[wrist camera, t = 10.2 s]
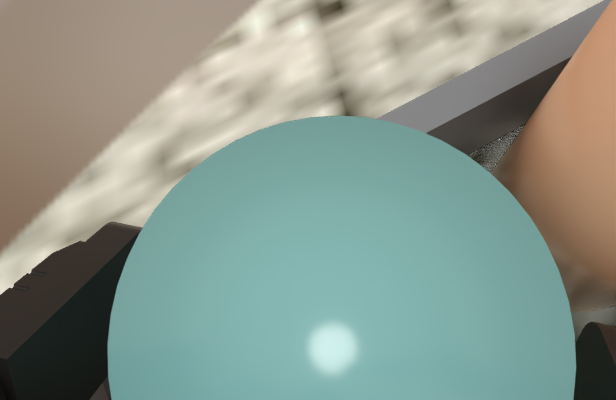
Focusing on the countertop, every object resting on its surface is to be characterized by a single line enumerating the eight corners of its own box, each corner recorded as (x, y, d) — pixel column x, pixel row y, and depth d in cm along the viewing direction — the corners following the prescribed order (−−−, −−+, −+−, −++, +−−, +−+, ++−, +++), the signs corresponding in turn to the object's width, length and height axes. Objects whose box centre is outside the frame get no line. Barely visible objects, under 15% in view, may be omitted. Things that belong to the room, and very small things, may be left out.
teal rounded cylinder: (381, 230, 16) (411, 50, 7) (475, 388, 15) (687, 437, 5) (232, 309, 16) (51, 235, 7) (310, 481, 14) (217, 714, 5)
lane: (586, 59, 18) (649, -24, 14) (780, 285, 15) (927, 259, 11) (68, 332, 16) (-19, 324, 13) (170, 637, 13) (96, 744, 10)
